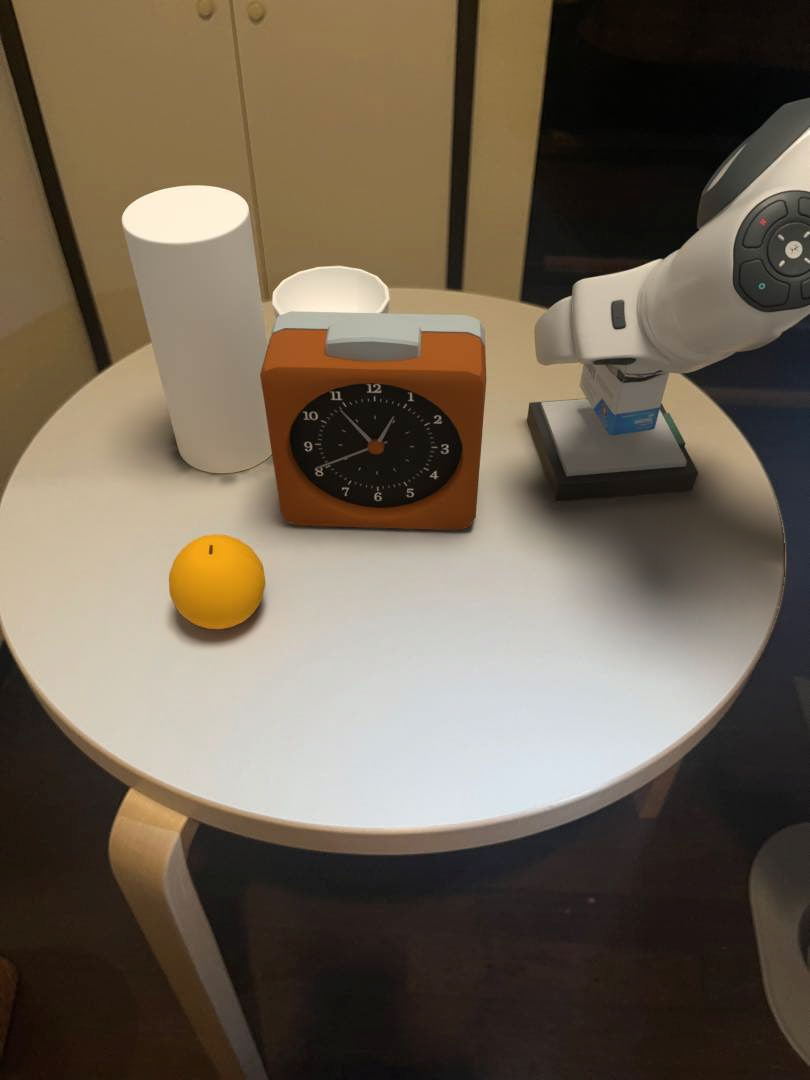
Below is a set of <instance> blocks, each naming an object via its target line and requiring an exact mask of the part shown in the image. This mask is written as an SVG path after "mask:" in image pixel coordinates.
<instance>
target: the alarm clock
mask: <svg viewBox="0 0 810 1080" xmlns="http://www.w3.org/2000/svg"><path fill="white" fill-rule="evenodd" d="M267 344H268V347H267V351H266V355H265V358H264V362H263V366H262V369H261V373H260V378H261V384H262V391H263V397H264V403H265V410H266V417H267V424H268V431H269V438H270V445H271V451H272V455H271V457H272V463H273V464H272V465H273V471H274V476H275V482H276V489H277V496H278V502H279V511H280V514H281V517H283V519H284V520H285V522H287V523H290V524H292V525H295V526H309V527H339V528H340V527H343V528H345V527H346V528H378V529H407V530H408V529H411V530H412V529H413V530H441V531H443V530H447V531H448V530H449V531H460V530H464V529H467V528H470V526H471V525H472V524H473V522H475V519H476V517H477V507H478V506H477V504H478V492H479V481H480V480H479V479H480V466H481V454H482V442H483V430H484V416H485V404H486V391H487V361H486V360H487V355H486V331H485V329H484V327H483V324H482V322H481V321H480V320H479V319H477V318H475V317H473V316H470V315H468V314H437V313H434V314H433V313H432V314H431V313H391V312H388V313H344V312H296V311H290V312H288V313H285V314H282V315H280V316H278V317H277V319H276V318H275V320H274V323H273V326H272V329H271V333H270V336H269V340H268V343H267Z"/></svg>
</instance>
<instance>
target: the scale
mask: <svg viewBox="0 0 810 1080" xmlns="http://www.w3.org/2000/svg"><path fill="white" fill-rule="evenodd" d="M526 417H527V418H526V421H527V425H528V427H529V430H530V433H531V435H532V438H533V441H534V444H535V447H536V450H537V453H538V456H539V459H540V461H541V465H542V467H543V470H544V473H545V475H546V479H547V481H548V485H549V487H550V490H551V493H552V497H553V498H554V501H555V503H561V502H573V501H584V500H594V499H595V500H596V499H606V498H619V497H630V496H631V497H632V496H643V495H655V494H666V493H677V492H678V493H679V492H688V491H689V492H690V491H691V492H692V491H693V490H694V487H695V485H696V482H697V479H698V476H699V471H698V468H697V467H696V464H695V462H694V461H693V459H692V457H691V456H690V454H689V452H688V450H687V449H686V441H685V440H684V438H683V436H682V434H681V431H680V430H679V428H678V427H677V425H676V423H675V421H674V418H673V417H672V415H671V413H670V412H667V410H666V409H665V407H664V405H663V403H662V402H661V406H660V410H659V414H658V418H657V421H656V425H655V428H654V429H652V430H647V431H641V432H634V433H627V434H621V435H614V436H610V435H609V434H608V432H607V431H606V429H605V427H604V426H603V424H602V422H601V421H600V419H599V417H598V416H597V414H596V413H595V411H594V409H593V408H592V406H591V404H590V403H589V401H588V400H587V398H586V397H585V398H572V399H571V398H570V399H559V400H545V401H534V402H533V401H531V402H529V403H528V410H527V416H526Z"/></svg>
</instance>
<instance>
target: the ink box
mask: <svg viewBox="0 0 810 1080" xmlns="http://www.w3.org/2000/svg"><path fill="white" fill-rule="evenodd" d="M581 370H582V371H581V376H580V381H579V389H580V390H581V391H582V393H583V395H584V396H585V398H587V400H588V401H589V403H590V404H591V406H592V408H593V409H594V411H595V413H596V414H597V416H598V417H599V419H600V421H601V422H602V424H603V426H604V427H605V429H606V431H607V432H608V434H609V435H610V436H614V435H621V434H627V433H634V432H641V431H647V430H652V429H654V428H655V425H656V421H657V418H658V414H659V410H660V406H661V403H662V402H663V398H664V395H665V391H666V387H667V383H668V380H669V377H670V373H669V372H665V371H662V370H659V369H648V368H643V367H638V366H632V365H594V364H586V365H584V364H582V369H581Z"/></svg>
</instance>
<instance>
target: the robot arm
mask: <svg viewBox="0 0 810 1080" xmlns="http://www.w3.org/2000/svg"><path fill="white" fill-rule="evenodd" d="M696 229H697V230H698V231H696V232H695V233H694V234H693V235H692V236H690V238H689V239H687V241H686V242H684V244H683V245H682V246H681V247H680V248H679V249H676V250H675V251H673V252H672V253H670V254H668V255H667V256H666V257H664V258H658V259H655V260H652V261H649V262H647V263H645V264H642V265H640V266H637V267H633V268H631V269H628V270H627V269H626V270H620V271H616V272H611V273H606V274H600V275H595V276H592V277H586V278H582V279H580V280H578V281H576V282H575V283H574V284H573V286H572V291H571V295H569V296H567V297H564V298H562V299H560V300H558V301H557V302H555V303H554V304H553V305H551V306H550V307H549V308H548V309H547V310H546V311H545V312H544V313H543V314H542V315H541V316H540V317H539V318H538V319H537V321H536V322H535V325H534V329H533V330H534V332H533V333H534V348H535V349H534V350H535V357H536V361H537V363H538V364H540V365H543V366H553V365H563V364H576V363H577V364H578V363H579V364H580V365H586V364H594V365H632V366H638V367H643V368H648V369H659V370H662V371H665V372H669V374H689V373H693V372H696V371H699V370H701V369H703V368H705V367H708V366H710V365H711V366H712V365H714V364H715V363H718V362H719V361H722V360H724V359H727V358H729V357H730V356H733V355H734V354H735V353H739V352H748V351H753V350H756V349H760V348H762V347H764V346H766V345H768V344H770V343H772V342H774V341H775V340H777V339H778V338H780V336H781V335H782V333H783V332H785V331H787V330H789V329H790V328H792V327H794V326H795V325H796V324H798V323H799V322H800V321H802V320H803V319H804V318H806V317H807V316H809V315H810V97H807V98H803V99H798V100H795V101H791V102H788V103H784V104H783V105H782V106H781V107H779V108H778V109H777V110H776V111H775V112H773V114H772V115H770V116H769V118H767V120H766V121H765V122H764V123H763V124H762V125H761V126H760V127H759V128H758V129H756V130H755V131H754V132H753V133H752V134H751V135H750V136H748V137H747V138H746V139H745V140H744V141H743V142H741V143H740V144H739V146H737V147H736V148H735V149H734V150H733V151H732V152H731V153H730V154H729V155H728V156H727V157H726V159H725V160H723V162H722V163H721V164H720V165H719V166H718V168H717V169H716V170H715V171H714V172H713V174H712V175H711V177H710V179H709V180H708V182H707V183H706V184H705V187H704V188H703V189H702V192H701V196H700V200H699V204H698V209H697V216H696Z"/></svg>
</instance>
